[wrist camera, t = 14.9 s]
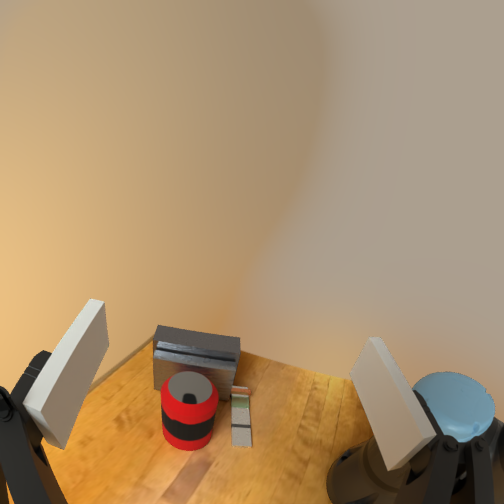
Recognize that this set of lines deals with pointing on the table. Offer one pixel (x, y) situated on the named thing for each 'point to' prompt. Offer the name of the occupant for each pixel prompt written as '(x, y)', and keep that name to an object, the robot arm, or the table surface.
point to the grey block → (197, 371)
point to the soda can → (188, 410)
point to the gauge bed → (217, 350)
